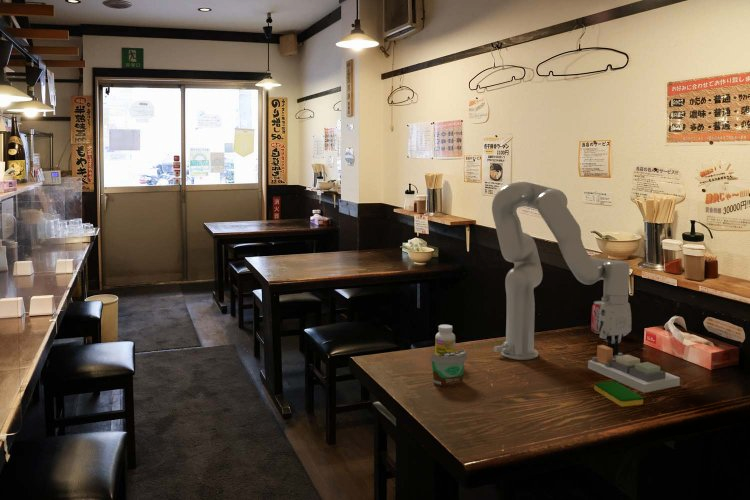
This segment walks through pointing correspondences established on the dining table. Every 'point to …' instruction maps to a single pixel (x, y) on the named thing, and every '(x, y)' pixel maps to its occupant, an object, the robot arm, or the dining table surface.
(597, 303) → the soda can
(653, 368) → the sage button
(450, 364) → the food container
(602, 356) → the orange rectangular prism
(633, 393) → the dish sponge
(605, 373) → the control board
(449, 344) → the supplement bottle
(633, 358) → the cream button
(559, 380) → the dining table surface
